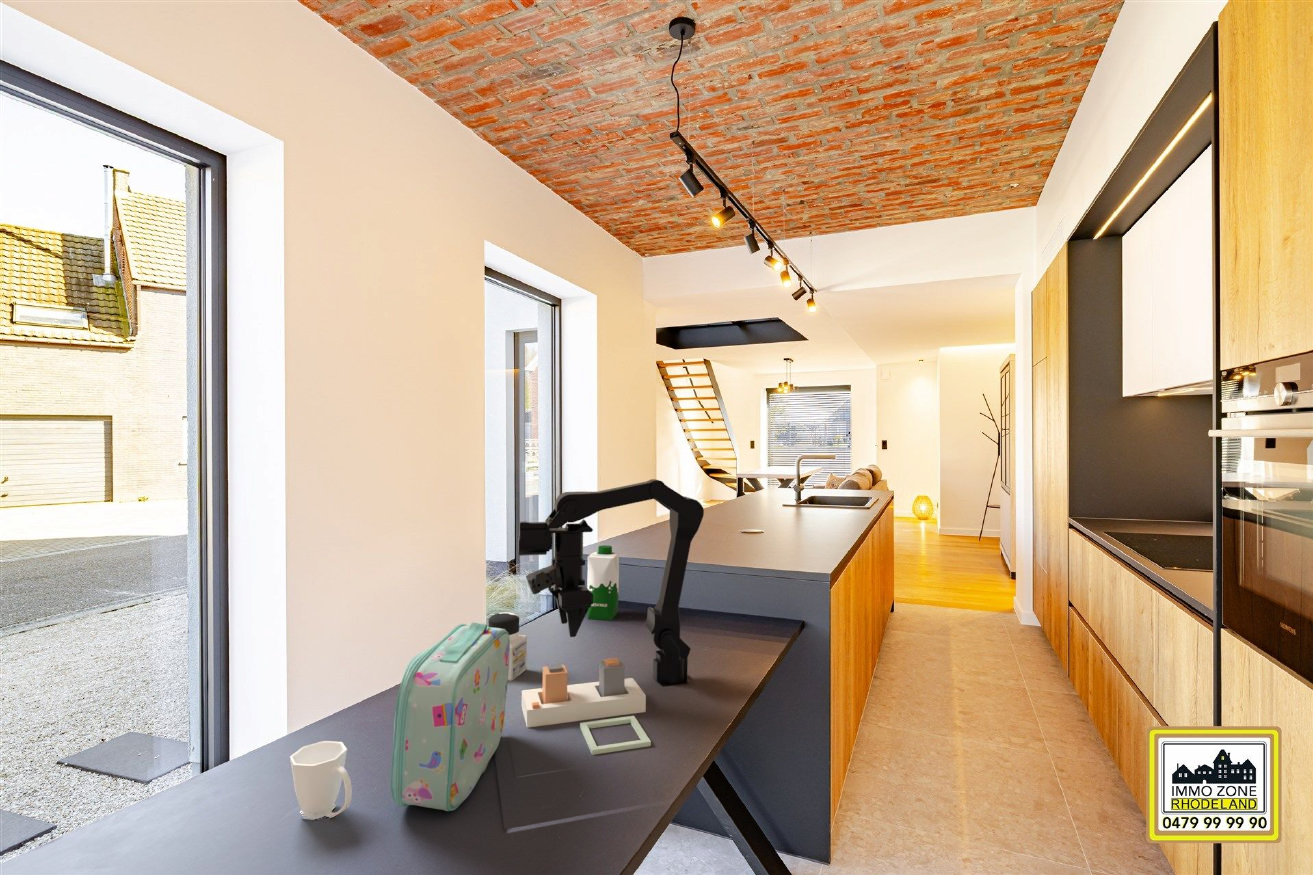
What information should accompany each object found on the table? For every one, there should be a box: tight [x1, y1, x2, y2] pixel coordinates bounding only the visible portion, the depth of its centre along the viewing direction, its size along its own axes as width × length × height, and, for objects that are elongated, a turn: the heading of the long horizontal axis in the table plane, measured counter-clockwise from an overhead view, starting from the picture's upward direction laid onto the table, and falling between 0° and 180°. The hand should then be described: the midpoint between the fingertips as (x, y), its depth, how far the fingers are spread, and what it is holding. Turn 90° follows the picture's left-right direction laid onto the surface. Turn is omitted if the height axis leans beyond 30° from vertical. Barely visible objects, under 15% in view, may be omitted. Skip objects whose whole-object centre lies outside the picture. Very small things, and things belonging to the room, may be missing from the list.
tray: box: [579, 715, 652, 756], centre depth 106 cm, size 10×10×1 cm
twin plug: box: [598, 657, 626, 697], centre depth 118 cm, size 4×4×9 cm
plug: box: [541, 663, 569, 704], centre depth 114 cm, size 4×4×9 cm
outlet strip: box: [521, 677, 647, 728], centre depth 116 cm, size 22×9×4 cm, turn 108°
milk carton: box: [586, 544, 620, 621], centre depth 179 cm, size 9×9×20 cm
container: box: [487, 611, 528, 681], centre depth 134 cm, size 8×8×13 cm
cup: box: [289, 740, 353, 819], centre depth 84 cm, size 7×10×8 cm
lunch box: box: [390, 622, 510, 812], centre depth 95 cm, size 27×10×21 cm, turn 178°
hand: (568, 629), depth 126 cm, fingers open, 9 cm apart
